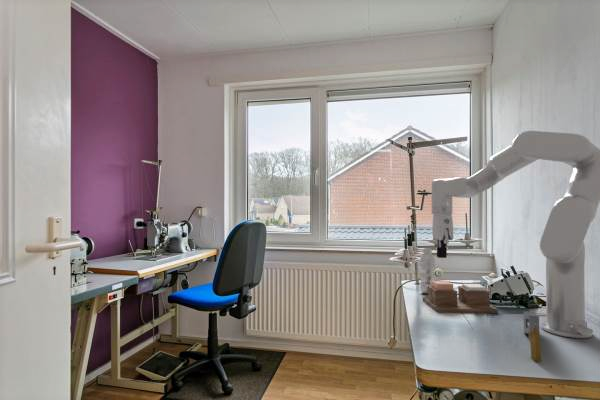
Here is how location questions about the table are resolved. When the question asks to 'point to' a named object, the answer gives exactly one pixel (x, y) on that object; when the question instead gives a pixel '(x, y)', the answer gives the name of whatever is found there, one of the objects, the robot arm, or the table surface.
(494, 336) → the table surface
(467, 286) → the white square block
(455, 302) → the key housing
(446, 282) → the terracotta key
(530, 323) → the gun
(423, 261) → the plastic bottle
